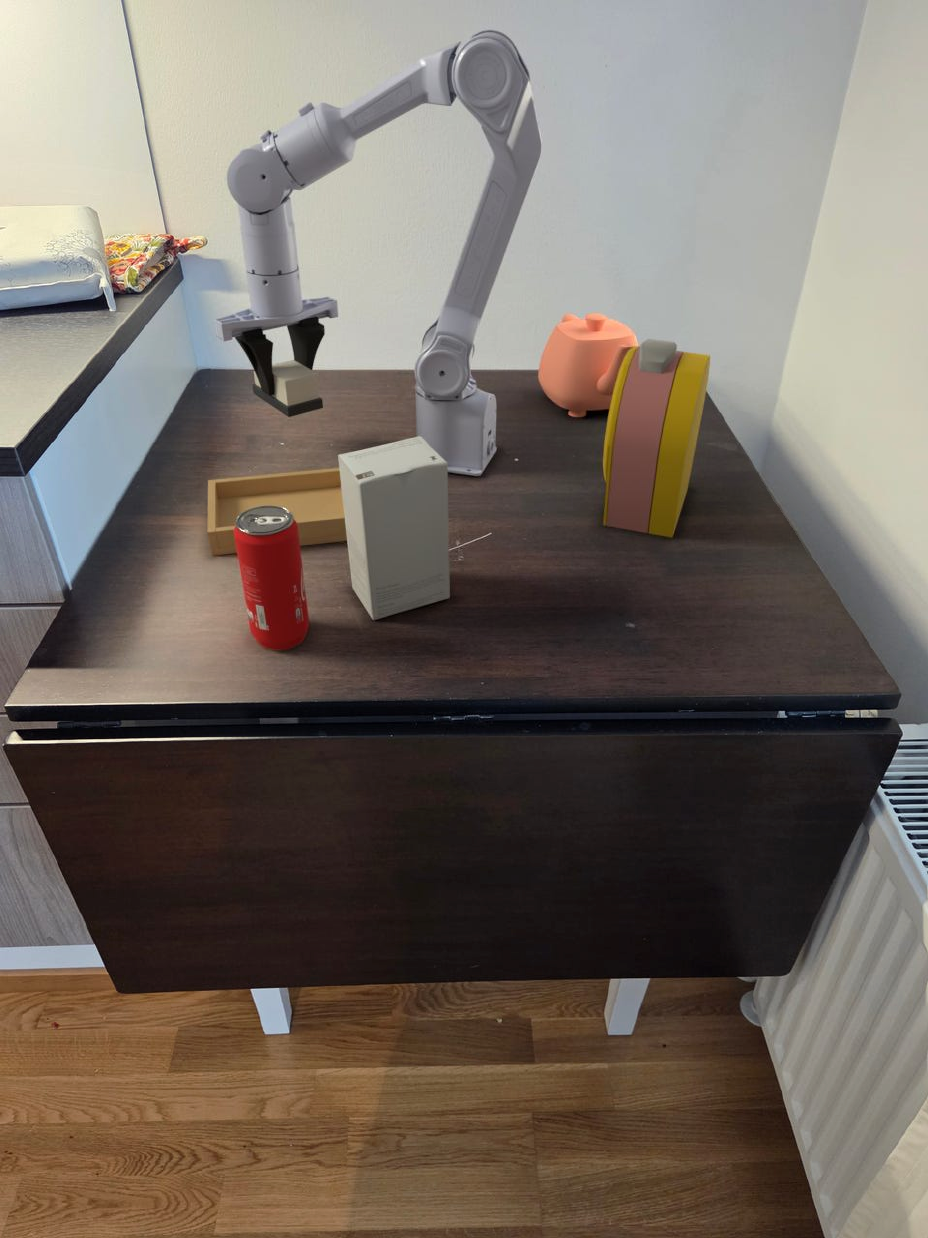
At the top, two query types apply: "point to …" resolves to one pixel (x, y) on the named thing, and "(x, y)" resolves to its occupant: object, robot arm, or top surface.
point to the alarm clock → (652, 436)
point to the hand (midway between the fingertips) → (286, 387)
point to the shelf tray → (299, 492)
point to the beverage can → (272, 576)
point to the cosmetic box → (396, 525)
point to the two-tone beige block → (292, 389)
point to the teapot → (584, 362)
